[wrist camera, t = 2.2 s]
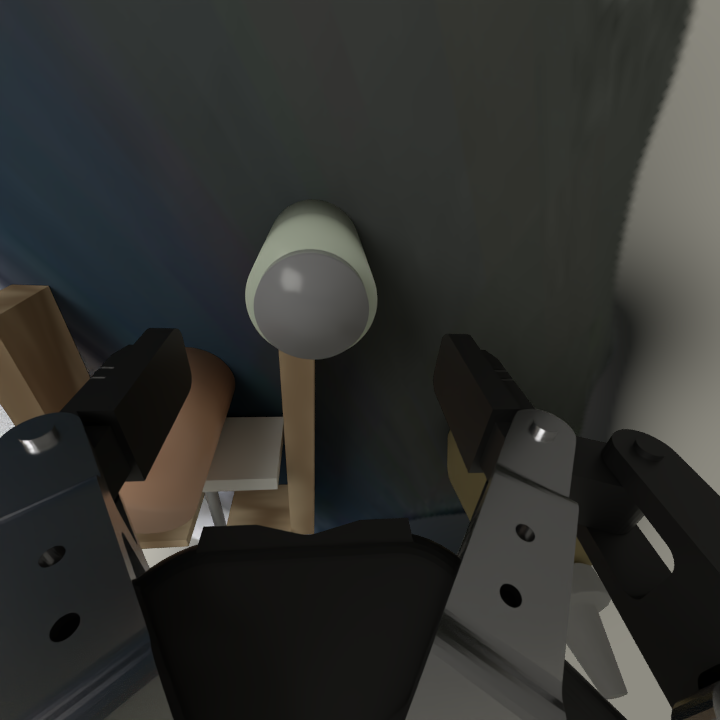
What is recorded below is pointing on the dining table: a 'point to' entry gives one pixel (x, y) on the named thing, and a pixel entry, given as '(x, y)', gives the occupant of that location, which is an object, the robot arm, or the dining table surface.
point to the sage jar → (312, 283)
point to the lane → (68, 375)
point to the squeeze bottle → (585, 592)
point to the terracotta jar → (184, 451)
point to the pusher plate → (244, 459)
